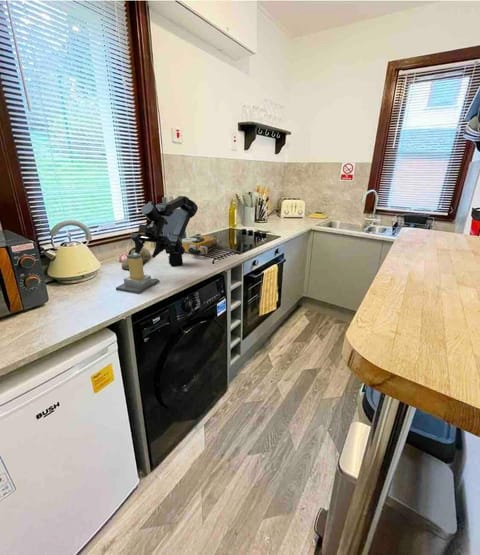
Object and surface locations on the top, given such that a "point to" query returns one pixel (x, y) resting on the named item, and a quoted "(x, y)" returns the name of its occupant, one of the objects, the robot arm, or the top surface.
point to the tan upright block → (135, 266)
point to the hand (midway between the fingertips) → (144, 256)
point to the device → (199, 244)
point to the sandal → (143, 252)
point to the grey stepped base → (137, 284)
